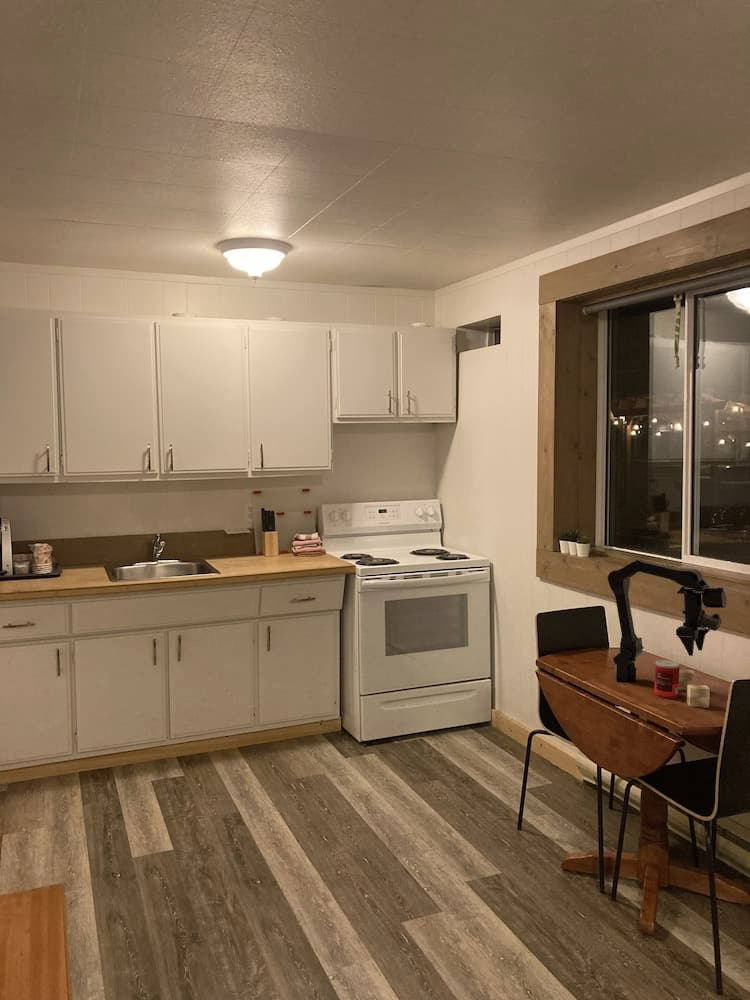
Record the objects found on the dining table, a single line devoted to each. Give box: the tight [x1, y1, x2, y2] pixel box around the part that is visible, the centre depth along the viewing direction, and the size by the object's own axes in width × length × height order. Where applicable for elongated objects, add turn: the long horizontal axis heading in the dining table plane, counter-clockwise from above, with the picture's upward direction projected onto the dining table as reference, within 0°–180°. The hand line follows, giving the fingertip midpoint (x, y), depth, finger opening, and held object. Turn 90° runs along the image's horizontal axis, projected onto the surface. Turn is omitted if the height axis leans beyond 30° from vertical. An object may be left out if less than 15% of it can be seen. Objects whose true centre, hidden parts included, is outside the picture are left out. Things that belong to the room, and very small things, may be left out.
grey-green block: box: [678, 669, 697, 691], centre depth 289 cm, size 6×4×6 cm, turn 83°
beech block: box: [686, 684, 711, 708], centre depth 272 cm, size 6×4×6 cm, turn 83°
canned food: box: [653, 659, 681, 699], centre depth 281 cm, size 8×8×11 cm
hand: (695, 653), depth 284 cm, fingers open, 9 cm apart
